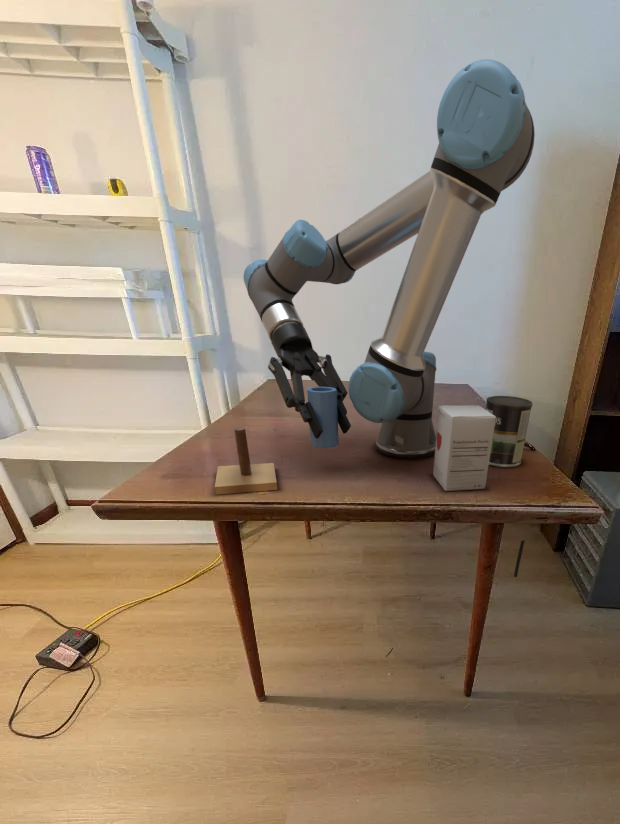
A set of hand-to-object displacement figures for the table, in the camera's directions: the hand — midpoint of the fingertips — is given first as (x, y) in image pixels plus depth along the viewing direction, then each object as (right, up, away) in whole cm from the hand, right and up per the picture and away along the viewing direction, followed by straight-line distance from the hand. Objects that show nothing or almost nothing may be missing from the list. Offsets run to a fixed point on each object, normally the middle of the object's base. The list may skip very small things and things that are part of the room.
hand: (333, 432), depth 85 cm
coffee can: (+37, -2, +18) cm, 42 cm away
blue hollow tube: (-2, -1, +4) cm, 5 cm away
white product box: (+26, -10, +5) cm, 28 cm away
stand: (-17, -10, 0) cm, 20 cm away
